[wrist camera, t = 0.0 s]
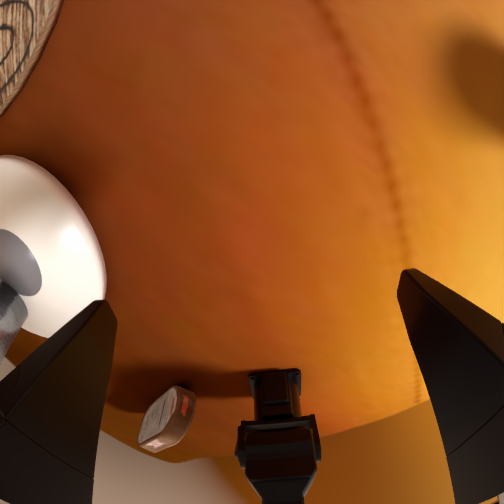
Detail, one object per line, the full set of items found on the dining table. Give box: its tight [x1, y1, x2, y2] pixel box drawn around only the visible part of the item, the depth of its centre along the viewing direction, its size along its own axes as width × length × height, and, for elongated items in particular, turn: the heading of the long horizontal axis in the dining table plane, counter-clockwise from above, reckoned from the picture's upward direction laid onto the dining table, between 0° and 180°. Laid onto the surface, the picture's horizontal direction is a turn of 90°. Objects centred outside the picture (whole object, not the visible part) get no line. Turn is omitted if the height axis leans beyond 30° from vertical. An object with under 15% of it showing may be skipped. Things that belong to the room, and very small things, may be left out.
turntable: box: [0, 155, 107, 338], centre depth 22 cm, size 21×21×2 cm
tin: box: [137, 386, 196, 453], centre depth 35 cm, size 15×3×8 cm, turn 143°
